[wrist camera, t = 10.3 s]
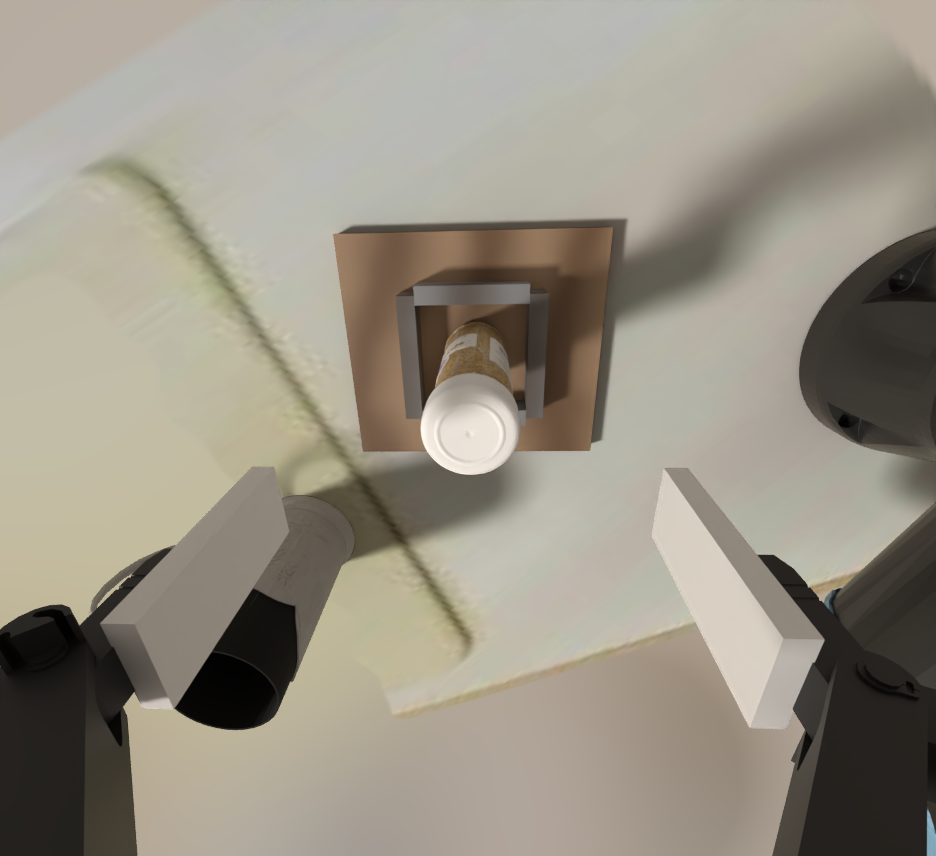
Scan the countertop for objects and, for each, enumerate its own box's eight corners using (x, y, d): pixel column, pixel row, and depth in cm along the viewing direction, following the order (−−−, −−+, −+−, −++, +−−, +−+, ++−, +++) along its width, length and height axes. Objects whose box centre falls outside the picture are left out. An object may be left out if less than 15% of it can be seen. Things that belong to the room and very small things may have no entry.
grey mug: (336, 584, 43) (268, 751, 30) (191, 529, 41) (46, 681, 28) (368, 519, 40) (308, 673, 26) (212, 454, 38) (57, 587, 24)
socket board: (609, 227, 29) (622, 227, 27) (587, 445, 36) (595, 463, 33) (337, 233, 30) (323, 235, 27) (366, 445, 37) (356, 463, 34)
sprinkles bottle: (446, 318, 31) (419, 382, 19) (511, 323, 31) (526, 389, 19) (443, 380, 33) (418, 475, 21) (505, 385, 33) (515, 482, 21)
